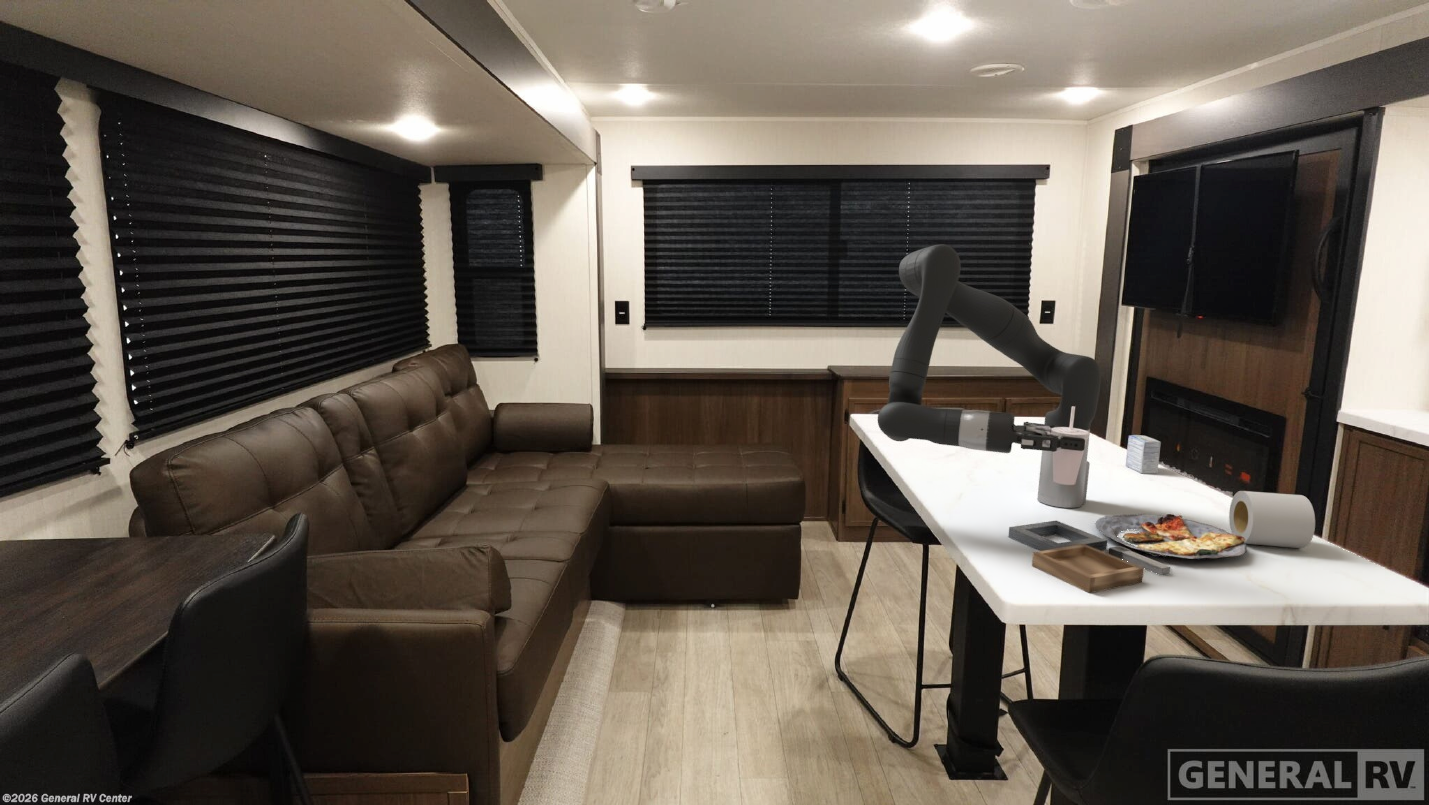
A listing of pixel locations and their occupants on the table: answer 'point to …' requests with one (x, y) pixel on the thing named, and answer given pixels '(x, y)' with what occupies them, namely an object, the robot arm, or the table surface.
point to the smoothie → (1067, 454)
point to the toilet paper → (1272, 519)
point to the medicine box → (1143, 454)
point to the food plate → (1172, 536)
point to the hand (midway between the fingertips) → (1083, 440)
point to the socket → (1034, 533)
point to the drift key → (1139, 560)
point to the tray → (1087, 568)
